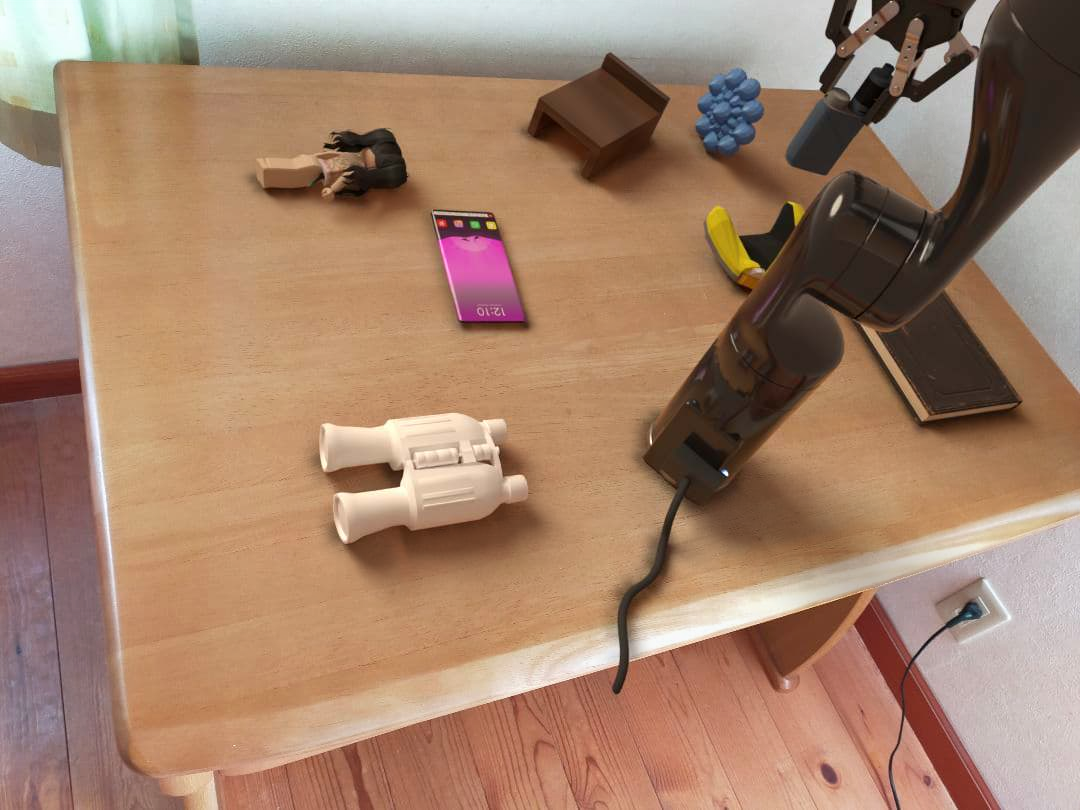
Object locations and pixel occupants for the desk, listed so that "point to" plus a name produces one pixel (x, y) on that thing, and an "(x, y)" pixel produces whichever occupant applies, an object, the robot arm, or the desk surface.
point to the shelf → (603, 112)
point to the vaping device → (835, 123)
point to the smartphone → (477, 267)
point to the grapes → (729, 112)
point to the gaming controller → (749, 243)
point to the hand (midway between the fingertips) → (847, 105)
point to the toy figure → (341, 165)
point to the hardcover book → (941, 366)
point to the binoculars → (421, 472)
